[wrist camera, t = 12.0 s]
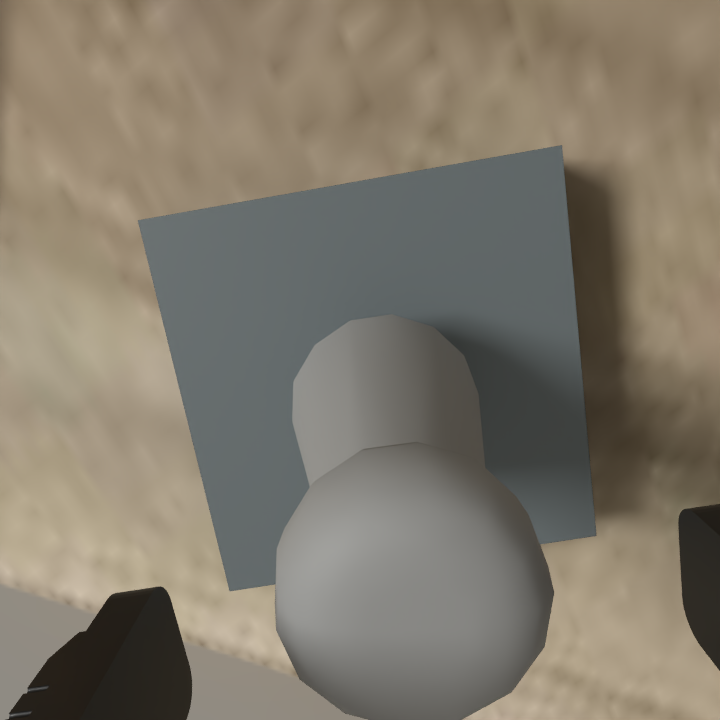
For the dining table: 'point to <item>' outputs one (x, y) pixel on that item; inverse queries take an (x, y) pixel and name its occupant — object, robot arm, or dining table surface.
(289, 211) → the base plinth
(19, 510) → the dining table surface
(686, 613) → the robot arm
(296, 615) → the salt shaker
